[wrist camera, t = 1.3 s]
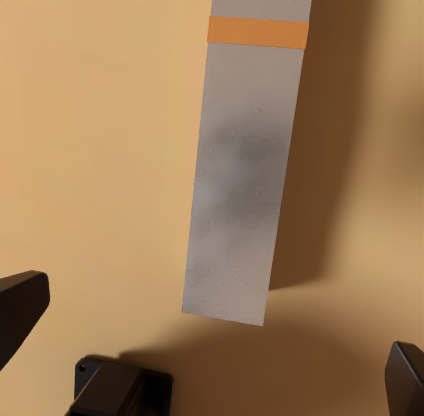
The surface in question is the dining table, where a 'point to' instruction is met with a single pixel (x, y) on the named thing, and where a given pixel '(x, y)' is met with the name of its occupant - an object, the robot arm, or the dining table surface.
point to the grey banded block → (243, 154)
